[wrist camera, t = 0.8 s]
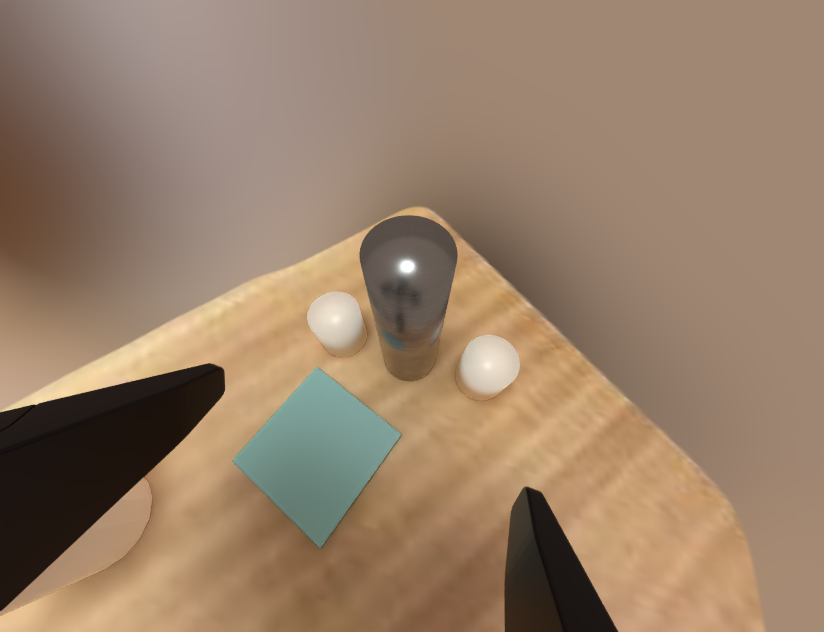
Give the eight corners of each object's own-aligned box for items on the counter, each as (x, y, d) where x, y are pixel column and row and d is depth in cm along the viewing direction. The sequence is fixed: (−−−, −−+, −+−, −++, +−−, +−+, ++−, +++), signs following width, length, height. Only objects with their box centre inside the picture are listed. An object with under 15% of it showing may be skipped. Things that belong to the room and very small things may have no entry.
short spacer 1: (346, 366, 24) (335, 348, 21) (312, 340, 25) (296, 318, 22) (376, 331, 26) (370, 309, 22) (342, 308, 26) (332, 282, 23)
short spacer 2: (487, 410, 23) (502, 400, 19) (446, 381, 24) (452, 366, 20) (511, 371, 24) (529, 355, 21) (471, 345, 25) (481, 324, 21)
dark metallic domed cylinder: (415, 391, 23) (419, 313, 12) (373, 360, 24) (339, 261, 13) (445, 350, 25) (475, 244, 13) (404, 322, 26) (399, 202, 14)
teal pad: (321, 547, 19) (320, 548, 19) (235, 461, 21) (231, 460, 21) (401, 434, 22) (401, 434, 22) (318, 368, 24) (316, 366, 24)
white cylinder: (67, 619, 18) (-121, 702, 11) (27, 517, 20) (-151, 539, 14) (182, 518, 20) (76, 540, 14) (134, 435, 22) (24, 421, 16)
